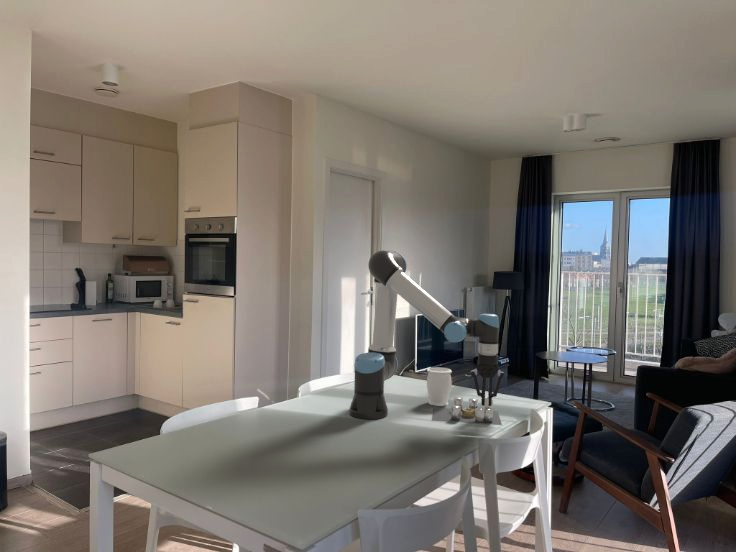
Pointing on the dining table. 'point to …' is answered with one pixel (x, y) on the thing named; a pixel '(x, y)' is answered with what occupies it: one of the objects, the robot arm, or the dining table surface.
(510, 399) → the dining table surface
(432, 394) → the jar
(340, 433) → the dining table surface
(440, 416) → the mat
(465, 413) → the nut
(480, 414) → the spacers
